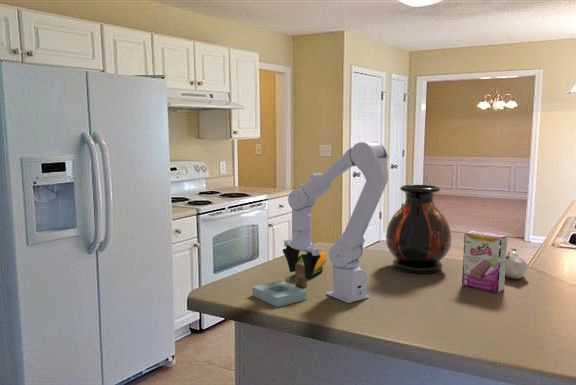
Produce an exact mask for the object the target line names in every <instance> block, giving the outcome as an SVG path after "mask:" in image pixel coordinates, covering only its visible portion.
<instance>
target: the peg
mask: <svg viewBox="0 0 576 385" xmlns="http://www.w3.org/2000/svg"><path fill="white" fill-rule="evenodd" d="M294 277H295V278H294V280H295V285H294V286H296V287H298V288H301V289H303V290H305V289H307V287H308V283H307V282H308V280H307V279H308V278H306V277H305V268H304V263H296V264H295V276H294Z"/></svg>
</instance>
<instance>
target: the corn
mask: <svg viewBox="0 0 576 385" xmlns="http://www.w3.org/2000/svg"><path fill="white" fill-rule="evenodd" d="M321 251H322V250H321V249H320V248H319V254H320V258H319V260H318V261H317V263H316V266H315V269H314V272H313V276H314V275H316V274H318V273H320V272H321V271H322V270H323V269H324V267H323V266H324V265H326V263H327V260H329V259H328V258H329V257H328V255H327V253H325V252H321ZM304 254H307V253H306V252H305V253H302V254H299V256H298V262H297V263H304V262H303V259H302V257H301V255H304Z"/></svg>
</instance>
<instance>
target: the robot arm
mask: <svg viewBox="0 0 576 385" xmlns="http://www.w3.org/2000/svg"><path fill="white" fill-rule="evenodd" d="M388 159H389V153H388V152H387V149H386V148H385V146H384V145H383V144H382V143H381V142H379V141H372V142H370V141H369V142H363V141H360V142H357V143H355V144H354V145H353V146H352V147H350V148H348V149H347V150H346V151H345V153H343V155H341V156H340V157H339V158H338V159H337V160H336V161H335V162H334V163H333V164H331V165H330V166H329V167H328V169H326V170H325V171H324V172H318V173H312V174H311V175H310V179H309V180H308V181H306V182H305V183H301V184H300V185H299V187H300V188H299V189H293V190H291V192H290V193H289V194H288V197H287V201H288V205H289V207H290V208H291V239H285V240H283V246H284V247H285V248H283V249H282V253H283V254H284V257H285V259H286V262H287V265H288V269H289V273H293V272H295V264H296V263H297V262H298V257H299V256H300V255H301V257H302V259H303V262H304V268H305V277H306V278H307V279H310V278H313V276H314V275H313V272H314V269H315V266H316V263H317V261H318V260H319V258H320V254H319V253H320V252H319V249H320V248H319V247H316V246H315V245H314V243H313V242H312V210H313V209H312V208H313V206H314V204H315V202H316V201H317V200H319V198H321V197H322V195H325V193H326V192H328V191H329V190H330V189H331V187H332V182H333V181H335V180H336V179H338V178H339V177H340V176H342V175H343V174H344V173H346V172H347V171H348V170H349V169H351V168H353V167H357V169H358V170H360V171H359V172H361V173H362V174H363V177H364V179H365V183H364V185H363V188H362V190H361V192H360V195H359V197H358V199H357V201H356V204H355V207H353V208H354V209H353V211H352V213H351V216H350V218H349V221H348V223H347V224H346V227H345V229H344V231H343V232H342V233H341V235H340V236H339V237H338V238H337V241H336V242H335V243H334V245H332V246H331V247H330V249H329V251H328V258H329V261H330V262H331V264H332V290H331V291H328V292H326V293H325V295H327V296H330V297H332V298H334V299H338V300H339V301H343V302H345V303H349V304H350V303H351V304H352V303H354V302H358V301H362V300H365V299H368V298H369V297H370V296H369V295H368V274H367V272H366V271H365V270H364V269H362V268H361V266H360V259H361V258H362V256H363V254H364V243H365V238H364V235H365V233H366V232H367V229H368V227H369V224H370V222H371V219H372V218H373V215H374V214H375V211H376V209H377V206H378V204H379V202H380V199H381V197H382V195H383V193H384V190H385V189H386V186H387V184H388V181H389V172H388ZM300 252H303V254H304V255H302V254H300ZM306 253H307V254H306Z"/></svg>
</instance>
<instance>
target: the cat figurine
mask: <svg viewBox="0 0 576 385" xmlns="http://www.w3.org/2000/svg"><path fill="white" fill-rule="evenodd" d="M510 250H511V251H508V252H506V266H505V277H506V278H509V279H514V280H516V279H517V280H519V279H521V278H523V277H525V275H526V274H527V272H528V270H529V264H528V262H527V261H526V259H525V258H524V257H523V256H521V255H520V254H519V249H518V248H516V247H511V248H510Z"/></svg>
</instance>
